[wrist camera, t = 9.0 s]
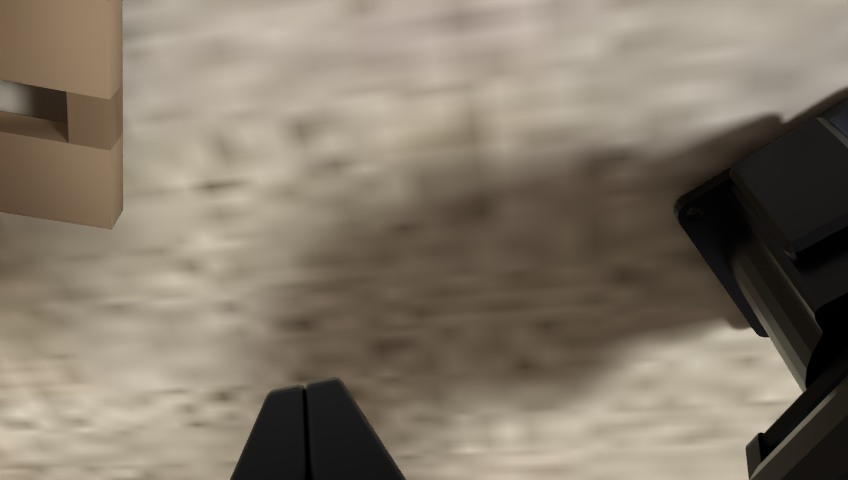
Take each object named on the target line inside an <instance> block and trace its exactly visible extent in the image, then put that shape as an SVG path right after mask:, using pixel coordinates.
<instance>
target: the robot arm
mask: <svg viewBox="0 0 848 480" xmlns="http://www.w3.org/2000/svg"><path fill="white" fill-rule="evenodd" d="M694 207H699V208H698V210H697V211H696V212H695V213H693V214H690V215H689V214H687V212H688V211H689V210H690V209H691V208H694ZM674 214H675V216H676V218H677V220H678V222H679V223H680V225H681V226H682V228H683V229H684V231H685V232H686V233H687V235H688V236H689V238H690V239H691V241H692V242H693V243H694V245H695V246H696V248H697V249H698V251H699V252H700V253H701V255H702V256H703V258H704V259H705V261H706V262H707V264H708V265H709V266H710V268H711V269H712V271H713V272H714V274H715V275H716V276H717V278H718V279H719V281H720V282H721V284H722V285H723V286H724V288H725V289H726V291H727V292H728V294H729V295H730V297H731V298H732V299H733V301H734V302H735V304H736V305H737V307H738V308H739V309H740V311H741V312H742V314H743V315H744V317H745V318H746V319H747V321H748V322H749V324H750V325H751V327H752V328H753V330H754V331H755V332H756V334H758V335H759V336H761V337H770V339H771V340H772V342H773V344H774V345H775V347H776V349H777V350H778V352H779V354H780V355H781V357H782V359H783V360H784V362H785V364H786V365H787V367H788V369H789V370H790V372H791V373H792V375H793V377H794V378H795V380H796V382H797V383H798V385H799V387H800V388H801V390H802V392H803V393H802V394H801V395H800V396H799V398H798V399H797V400H796V401H795V402H794V403H793V404H792V405H791V406H790V407H789V408H788V409H787V410H786V411H785V412H784V413H783V414H782V415H781V416H780V417H779V418H778V419H777V420H776V422H775V423H774V424H773V425H772V426H771V427H770V428H769V429H768V430H767V431H766V432H765V433H758V434H757V435H756V436H755V437H754V438H753V439H752V441H751V442H750V443H749V444H748V445H747V446H746V456H747V465H748V475H749V480H848V98H847V99H845V100H843V101H842V102H840V103H838V104H837V105H835V106H833V107H832V108H830V109H828V110H826V111H825V112H823V113H821V114H820V115H818V116H816V117H815V118H811V119H810V120H808V121H806V122H805V123H803V124H801V125H800V126H798V127H796V128H795V129H793V130H791V131H789V132H788V133H786V134H784V135H783V136H781V137H779V138H778V139H776V140H774V141H773V142H771V143H769V144H768V145H766V146H764V147H763V148H761V149H759V150H758V151H756V152H754V153H753V154H751V155H749V156H748V157H746V158H744V159H742V160H741V161H739V162H737V163H736V164H734V166H732V167H731V168H729V169H727V170H726V171H724V172H722V173H721V174H719V175H717V176H716V177H714V178H712V179H711V180H709V181H707V182H706V183H704V184H702V185H701V186H699V187H697V188H695V189H694V190H692V191H690V192H689V193H687V194H685V195H684V196H682V197H681V198H680V199H679V200H678V201H677V202H676V204H675V206H674ZM230 480H406V479H405V477H404V476H403V474H402V473H401V471H400V470H399V468H398V466H397V465H396V463H395V462H394V460H393V459H392V457H391V456H390V454H389V453H388V451H387V450H386V448H385V446H384V445H383V443H382V442H381V440H380V439H379V437H378V436H377V434H376V433H375V431H374V430H373V428H372V426H371V425H370V423H369V422H368V420H367V419H366V417H365V416H364V414H363V413H362V411H361V410H360V408H359V406H358V405H357V403H356V402H355V400H354V399H353V397H352V396H351V394H350V393H349V391H348V390H347V388H346V386H345V385H344V383H343V382H342V381H341V380H340V379H339V378H336V377H334V378H329V379H324V380H319V381H314V382H310V383H308V384H307V386H306V388H304V387H303V386H302V385H294V386H289V387H284V388H279V389H275V390H272V391H271V392H270V393H269V394H268V395H267V397H266V399H265V401H264V403H263V406H262V408H261V410H260V412H259V415H258V417H257V419H256V422H255V424H254V426H253V428H252V431H251V433H250V435H249V438H248V440H247V442H246V444H245V447H244V449H243V451H242V454H241V456H240V458H239V460H238V463H237V465H236V467H235V470H234V472H233V474H232V476H231V479H230Z"/></svg>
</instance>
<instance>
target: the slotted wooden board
mask: <svg viewBox="0 0 848 480" xmlns="http://www.w3.org/2000/svg"><path fill="white" fill-rule="evenodd" d="M0 80H5V81H11V82H16V83H22V84H27V85H33V86H38V87H44V88H49V89H55V90H60V91H66V94H67V115H68V123H63V122H58V121H52V120H46V119H41V118H35V117H29V116H24V115H18V114H12V113H7V112H1V111H0V212H5V213H11V214H17V215H24V216H30V217H36V218H43V219H49V220H55V221H62V222H68V223H74V224H80V225H87V226H93V227H99V228H106V229H112V228H113V226H114V224H115V223H116V221H117V219H118V218H119V216H120V214H121V212H122V211H123V70H122V0H0Z"/></svg>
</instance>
